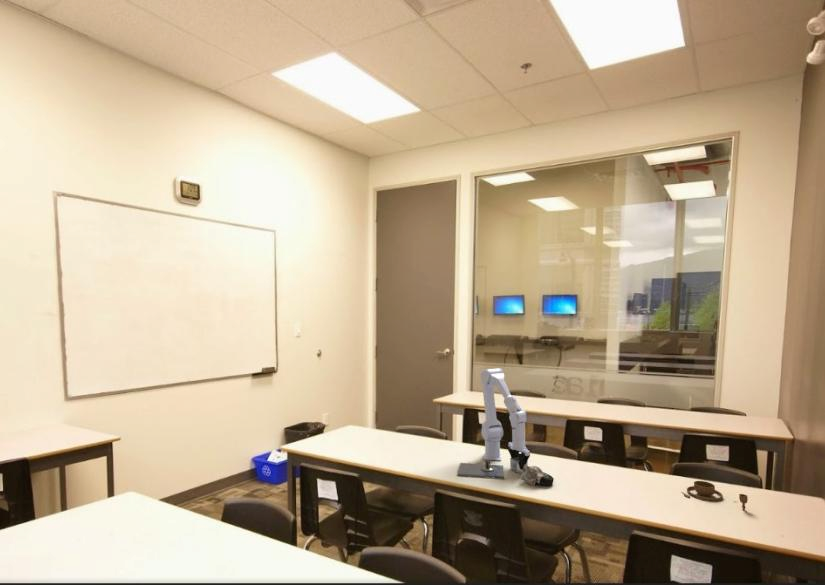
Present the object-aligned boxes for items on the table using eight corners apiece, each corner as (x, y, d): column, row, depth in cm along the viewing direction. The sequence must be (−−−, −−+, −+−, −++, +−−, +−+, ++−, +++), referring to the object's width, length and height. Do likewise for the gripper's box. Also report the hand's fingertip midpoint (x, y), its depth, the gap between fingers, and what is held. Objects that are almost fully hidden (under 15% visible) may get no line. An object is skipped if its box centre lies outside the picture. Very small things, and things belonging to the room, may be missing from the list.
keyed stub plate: (460, 464, 210) (460, 455, 210) (503, 467, 206) (503, 457, 207) (457, 475, 196) (457, 465, 196) (504, 478, 193) (503, 468, 193)
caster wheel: (554, 489, 188) (543, 492, 181) (530, 476, 196) (519, 479, 189) (558, 473, 188) (547, 476, 181) (534, 462, 196) (523, 464, 189)
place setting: (720, 491, 181) (719, 476, 181) (752, 513, 161) (751, 497, 161) (674, 489, 182) (674, 475, 183) (700, 511, 163) (700, 495, 163)
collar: (510, 468, 205) (510, 457, 205) (520, 467, 207) (520, 456, 207) (517, 473, 200) (517, 461, 200) (527, 471, 201) (527, 460, 202)
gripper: (502, 433, 209) (503, 462, 209) (520, 442, 196) (520, 473, 195) (515, 432, 212) (515, 461, 211) (533, 440, 198) (534, 471, 197)
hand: (519, 467), depth 203 cm, fingers closed on collar, 6 cm apart
